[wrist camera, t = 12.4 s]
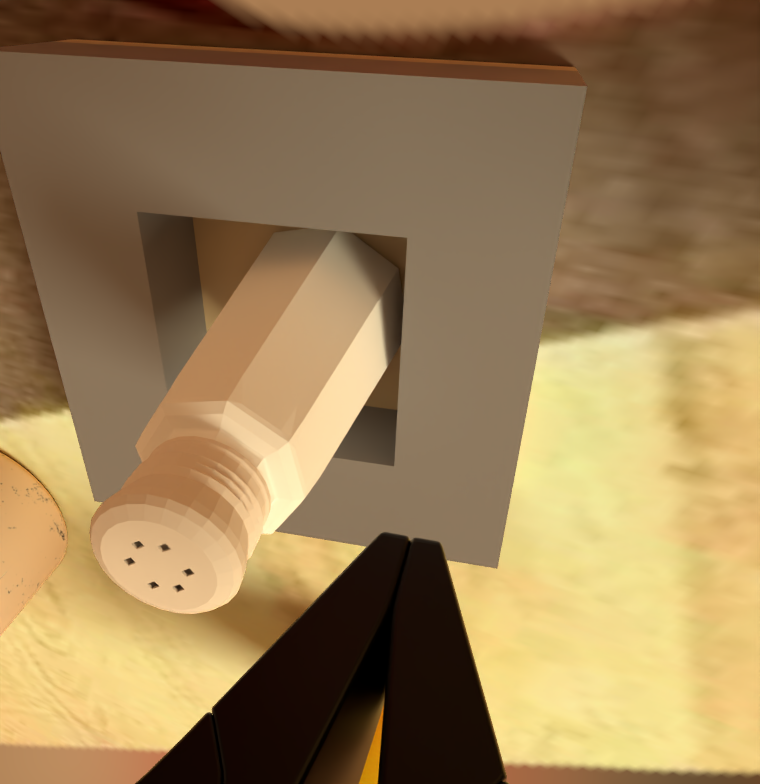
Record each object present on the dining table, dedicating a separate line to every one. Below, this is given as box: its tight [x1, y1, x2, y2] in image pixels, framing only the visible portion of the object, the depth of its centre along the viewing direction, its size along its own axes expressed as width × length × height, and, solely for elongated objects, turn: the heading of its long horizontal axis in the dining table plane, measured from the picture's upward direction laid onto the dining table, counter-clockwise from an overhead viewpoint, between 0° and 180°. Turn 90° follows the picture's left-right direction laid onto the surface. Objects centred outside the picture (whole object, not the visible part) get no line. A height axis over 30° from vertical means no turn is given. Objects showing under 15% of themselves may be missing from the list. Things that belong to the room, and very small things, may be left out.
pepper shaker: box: [90, 228, 404, 614], centre depth 16 cm, size 5×5×11 cm
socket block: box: [0, 39, 587, 568], centre depth 19 cm, size 14×14×4 cm
